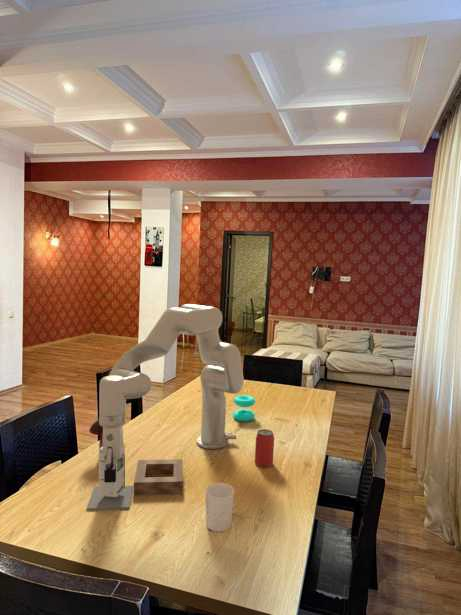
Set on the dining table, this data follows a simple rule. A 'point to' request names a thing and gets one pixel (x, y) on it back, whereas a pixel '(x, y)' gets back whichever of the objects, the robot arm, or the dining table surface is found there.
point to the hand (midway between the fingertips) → (112, 474)
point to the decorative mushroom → (97, 431)
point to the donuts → (244, 413)
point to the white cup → (219, 506)
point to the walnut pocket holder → (159, 484)
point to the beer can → (264, 448)
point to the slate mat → (110, 500)
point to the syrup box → (116, 487)
